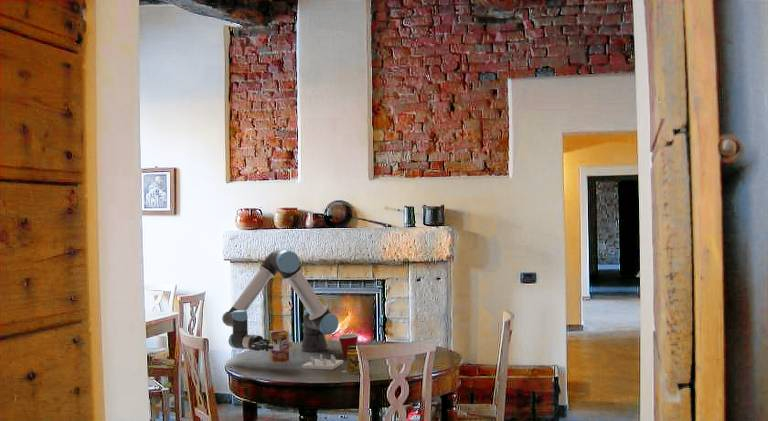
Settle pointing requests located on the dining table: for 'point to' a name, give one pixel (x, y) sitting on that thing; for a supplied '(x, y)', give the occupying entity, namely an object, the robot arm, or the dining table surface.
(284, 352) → the candy box
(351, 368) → the condiment
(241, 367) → the dining table surface
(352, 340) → the plastic cup
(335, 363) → the caddy tray
